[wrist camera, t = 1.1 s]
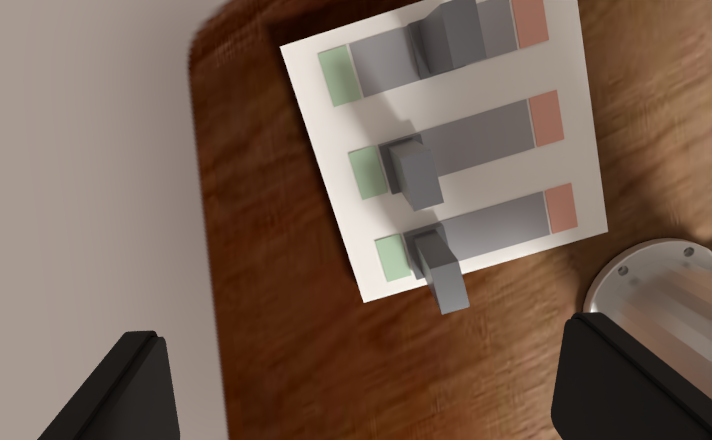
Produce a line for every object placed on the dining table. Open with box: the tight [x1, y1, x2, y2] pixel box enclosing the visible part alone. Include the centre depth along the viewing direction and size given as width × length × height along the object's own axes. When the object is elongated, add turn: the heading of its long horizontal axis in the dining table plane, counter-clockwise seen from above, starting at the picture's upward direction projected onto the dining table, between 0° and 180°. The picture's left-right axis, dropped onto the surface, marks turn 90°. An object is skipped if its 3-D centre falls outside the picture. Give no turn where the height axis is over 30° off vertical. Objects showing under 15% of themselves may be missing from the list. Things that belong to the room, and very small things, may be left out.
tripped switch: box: [407, 0, 487, 80], centre depth 25 cm, size 3×4×7 cm
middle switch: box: [378, 133, 444, 212], centre depth 27 cm, size 3×4×7 cm
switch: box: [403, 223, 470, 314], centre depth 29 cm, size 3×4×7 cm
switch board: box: [280, 0, 608, 303], centre depth 32 cm, size 20×20×2 cm
